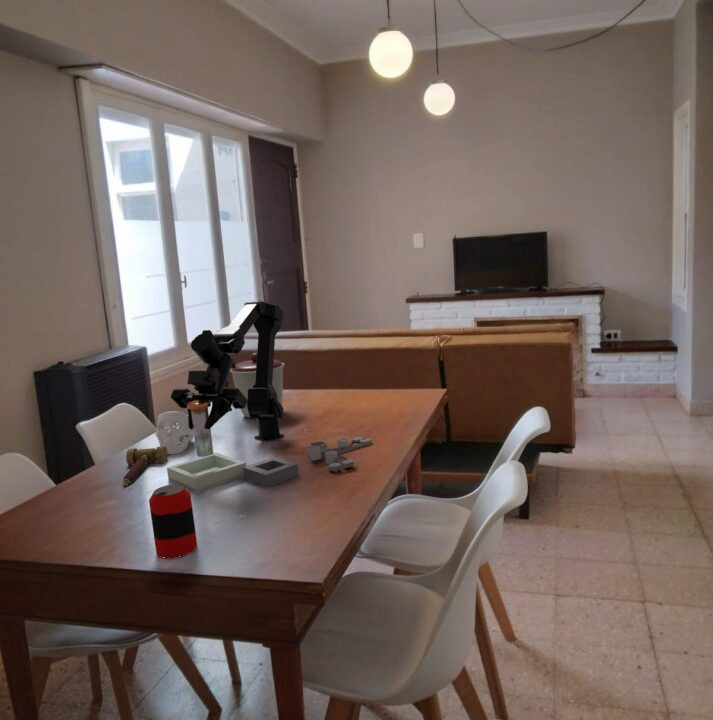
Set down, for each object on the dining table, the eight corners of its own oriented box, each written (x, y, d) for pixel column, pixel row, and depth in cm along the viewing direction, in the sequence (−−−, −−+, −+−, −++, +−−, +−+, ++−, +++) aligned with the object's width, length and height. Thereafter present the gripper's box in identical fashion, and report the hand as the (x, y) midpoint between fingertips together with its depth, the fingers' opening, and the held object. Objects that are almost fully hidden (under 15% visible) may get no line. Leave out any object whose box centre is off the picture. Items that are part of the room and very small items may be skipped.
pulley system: (292, 477, 167) (351, 474, 163) (289, 458, 166) (348, 455, 163) (323, 446, 193) (375, 443, 189) (321, 430, 193) (373, 427, 189)
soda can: (147, 557, 127) (139, 496, 125) (172, 539, 134) (164, 481, 132) (182, 561, 124) (173, 498, 122) (205, 543, 131) (197, 483, 129)
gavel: (143, 474, 166) (102, 477, 166) (145, 491, 167) (105, 494, 167) (166, 443, 186) (130, 446, 187) (168, 459, 188) (133, 462, 188)
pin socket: (244, 479, 166) (243, 467, 165) (276, 468, 172) (274, 456, 171) (267, 487, 159) (265, 475, 158) (299, 475, 165) (297, 463, 164)
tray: (168, 481, 169) (166, 467, 168) (217, 465, 178) (216, 452, 177) (197, 493, 158) (195, 479, 158) (247, 475, 168) (245, 462, 167)
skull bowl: (148, 453, 188) (149, 411, 193) (163, 465, 201) (164, 426, 206) (185, 450, 188) (186, 408, 193) (198, 462, 201) (199, 423, 206)
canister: (242, 425, 216) (235, 360, 212) (229, 414, 233) (222, 353, 229) (296, 415, 223) (290, 352, 219) (280, 405, 239) (274, 346, 236)
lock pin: (193, 452, 169) (186, 401, 167) (215, 449, 170) (209, 398, 168) (194, 459, 164) (187, 406, 161) (217, 455, 165) (211, 403, 163)
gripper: (169, 357, 170) (148, 411, 161) (235, 355, 163) (217, 412, 155) (191, 381, 178) (172, 434, 170) (254, 380, 172) (238, 435, 164)
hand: (198, 428), depth 165 cm, fingers closed on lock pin, 4 cm apart
